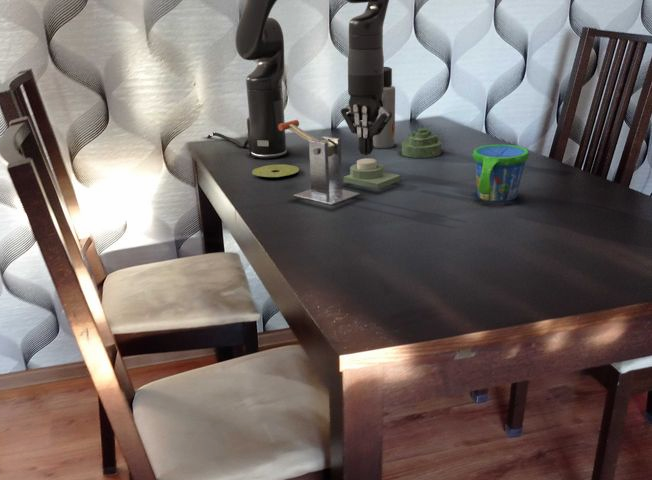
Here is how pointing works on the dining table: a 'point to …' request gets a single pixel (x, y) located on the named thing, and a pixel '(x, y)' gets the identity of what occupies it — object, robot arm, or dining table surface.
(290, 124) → the lever
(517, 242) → the dining table surface
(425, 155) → the decorative artifact
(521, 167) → the snack cup
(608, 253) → the dining table surface
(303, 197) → the bracket
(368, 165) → the button
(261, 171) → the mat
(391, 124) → the lotion bottle
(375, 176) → the control block
